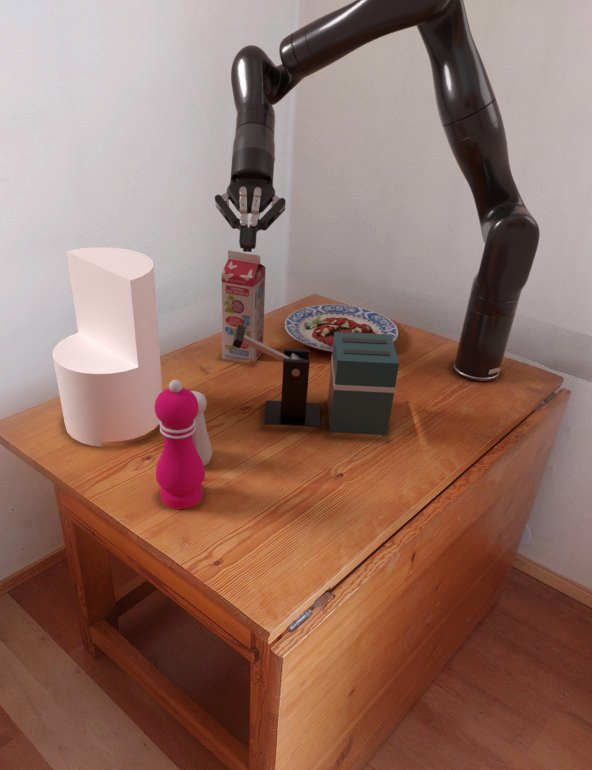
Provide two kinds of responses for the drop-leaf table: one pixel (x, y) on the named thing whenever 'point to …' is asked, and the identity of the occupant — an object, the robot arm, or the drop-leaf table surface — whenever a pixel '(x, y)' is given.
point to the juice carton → (242, 303)
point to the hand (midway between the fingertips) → (247, 249)
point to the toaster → (362, 383)
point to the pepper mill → (178, 448)
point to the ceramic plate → (335, 324)
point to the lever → (259, 345)
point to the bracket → (294, 395)
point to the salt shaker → (201, 431)
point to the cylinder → (110, 347)
